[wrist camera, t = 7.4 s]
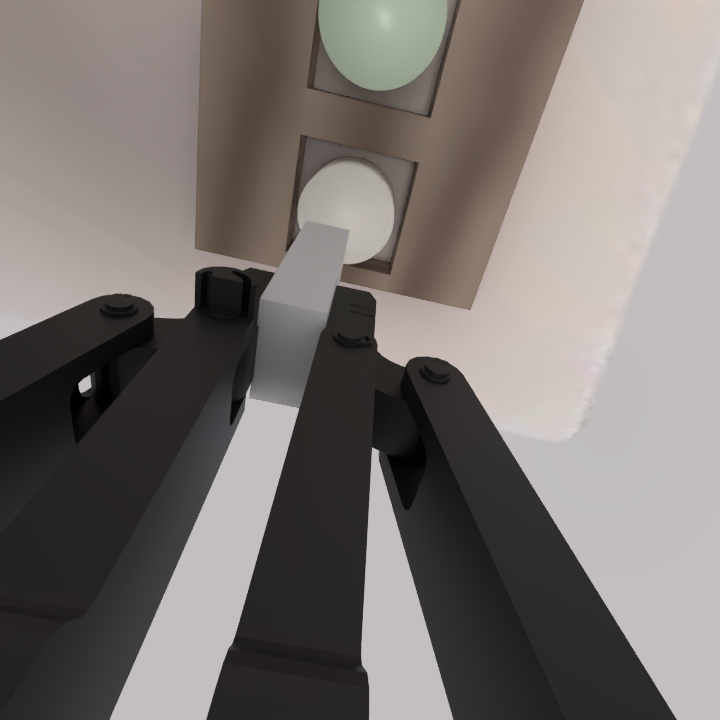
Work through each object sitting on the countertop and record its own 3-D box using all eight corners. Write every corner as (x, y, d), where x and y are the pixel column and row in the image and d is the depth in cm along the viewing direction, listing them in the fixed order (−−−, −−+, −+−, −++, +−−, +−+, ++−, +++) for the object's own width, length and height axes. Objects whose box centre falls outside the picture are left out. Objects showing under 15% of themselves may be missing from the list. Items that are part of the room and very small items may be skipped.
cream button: (301, 236, 27) (291, 253, 24) (314, 147, 24) (305, 154, 22) (382, 255, 27) (381, 273, 24) (404, 168, 24) (405, 178, 22)
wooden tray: (207, 238, 28) (195, 248, 26) (236, -456, 16) (216, -523, 14) (465, 296, 29) (470, 310, 27) (684, -319, 16) (718, -366, 15)
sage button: (319, 76, 21) (309, 74, 18) (339, -62, 19) (330, -86, 16) (422, 101, 21) (426, 103, 19) (455, -31, 19) (464, -50, 16)
